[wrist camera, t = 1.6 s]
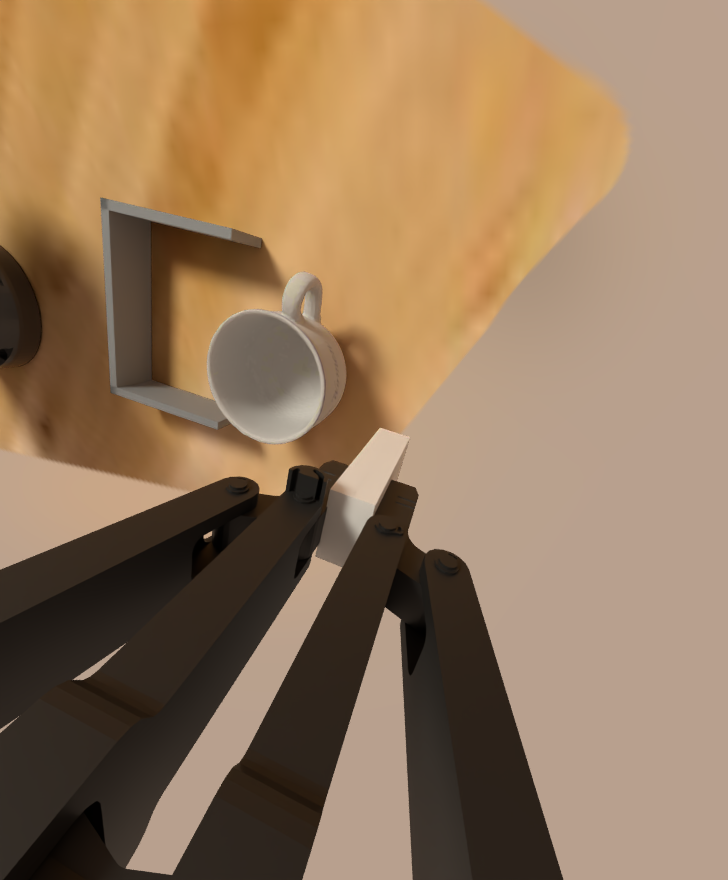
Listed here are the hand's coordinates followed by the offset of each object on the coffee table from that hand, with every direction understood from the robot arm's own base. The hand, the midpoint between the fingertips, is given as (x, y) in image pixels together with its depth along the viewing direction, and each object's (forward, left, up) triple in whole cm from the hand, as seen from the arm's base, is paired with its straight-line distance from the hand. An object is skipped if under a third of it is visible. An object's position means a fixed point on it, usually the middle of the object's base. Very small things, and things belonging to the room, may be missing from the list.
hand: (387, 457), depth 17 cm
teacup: (-12, 0, -18) cm, 21 cm away
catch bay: (-24, 0, -17) cm, 30 cm away
